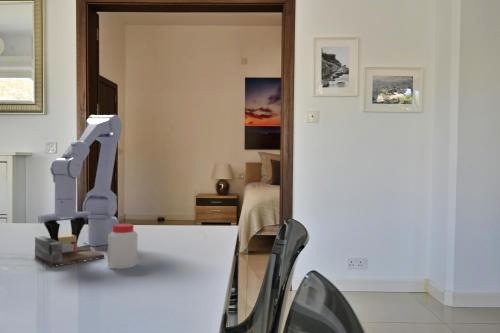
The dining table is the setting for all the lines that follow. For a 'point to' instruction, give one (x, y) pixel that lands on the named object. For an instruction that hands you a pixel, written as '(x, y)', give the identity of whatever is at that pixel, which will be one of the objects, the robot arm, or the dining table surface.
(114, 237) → the pill bottle
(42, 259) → the rail bed
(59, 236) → the carriage
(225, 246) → the dining table surface
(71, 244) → the gauge plunger
